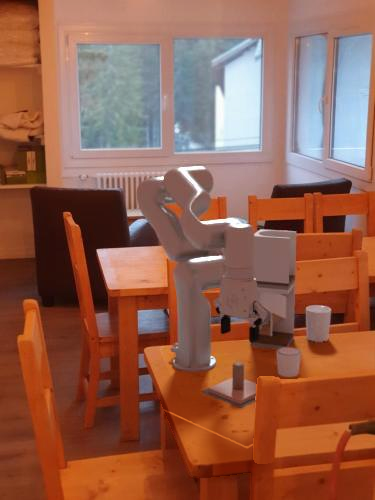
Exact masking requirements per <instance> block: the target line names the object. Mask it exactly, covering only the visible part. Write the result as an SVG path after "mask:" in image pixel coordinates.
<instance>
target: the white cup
mask: <svg viewBox="0 0 375 500" xmlns="http://www.w3.org/2000/svg"><path fill="white" fill-rule="evenodd" d="M331 316H332V308H330V307H329V306H326V305H321V304H320V305H319V304H313V305H308V306H307V307H305V325H306V326H305V328H306V339H307V341H310V340H311V341H310V342H313V341H315V342H314V343H324V342H323V341H325V342H327V341H328V340H329V336H330V334H329V333H330V327H331V318H332V317H331Z"/></svg>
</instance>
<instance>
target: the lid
mask: <svg viewBox="0 0 375 500" xmlns="http://www.w3.org/2000/svg"><path fill="white" fill-rule="evenodd" d="M208 388H209V392H211V393H213V394H216V395H218V396H221V397H223V398H226V399H228V400H231V401H233V402H236V403H238V404H242V403H244V402H246V401H248V400H250V399H252V398H254V397H255V396H256V382H254V381H250V380H249V379H246V378H245V364H244V363H242V362H234V363H232V377H231V378H229V379H226V380H223V381H222V382H219V383H217V384H215V385H212V386H210V387H208Z"/></svg>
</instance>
